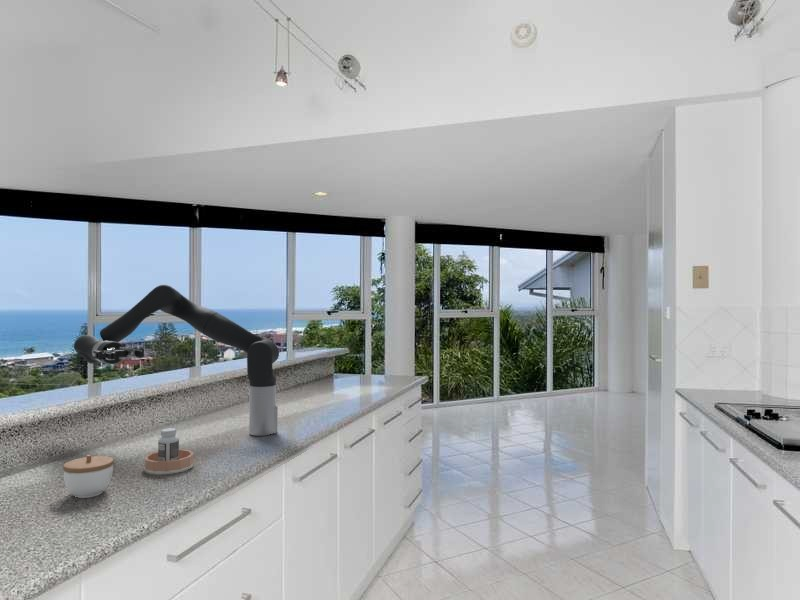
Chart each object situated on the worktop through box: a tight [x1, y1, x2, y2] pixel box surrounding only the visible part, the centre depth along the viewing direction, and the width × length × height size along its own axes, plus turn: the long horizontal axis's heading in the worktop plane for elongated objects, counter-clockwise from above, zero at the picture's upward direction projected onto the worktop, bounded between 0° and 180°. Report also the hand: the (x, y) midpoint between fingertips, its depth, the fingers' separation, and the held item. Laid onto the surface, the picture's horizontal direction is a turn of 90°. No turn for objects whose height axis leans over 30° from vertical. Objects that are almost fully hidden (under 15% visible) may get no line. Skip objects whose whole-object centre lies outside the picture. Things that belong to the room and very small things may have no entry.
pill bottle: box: [157, 427, 180, 461], centre depth 153 cm, size 5×5×10 cm
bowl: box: [143, 448, 195, 476], centre depth 153 cm, size 13×13×4 cm
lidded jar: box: [62, 454, 115, 499], centre depth 132 cm, size 11×11×9 cm
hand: (128, 355), depth 172 cm, fingers open, 8 cm apart
